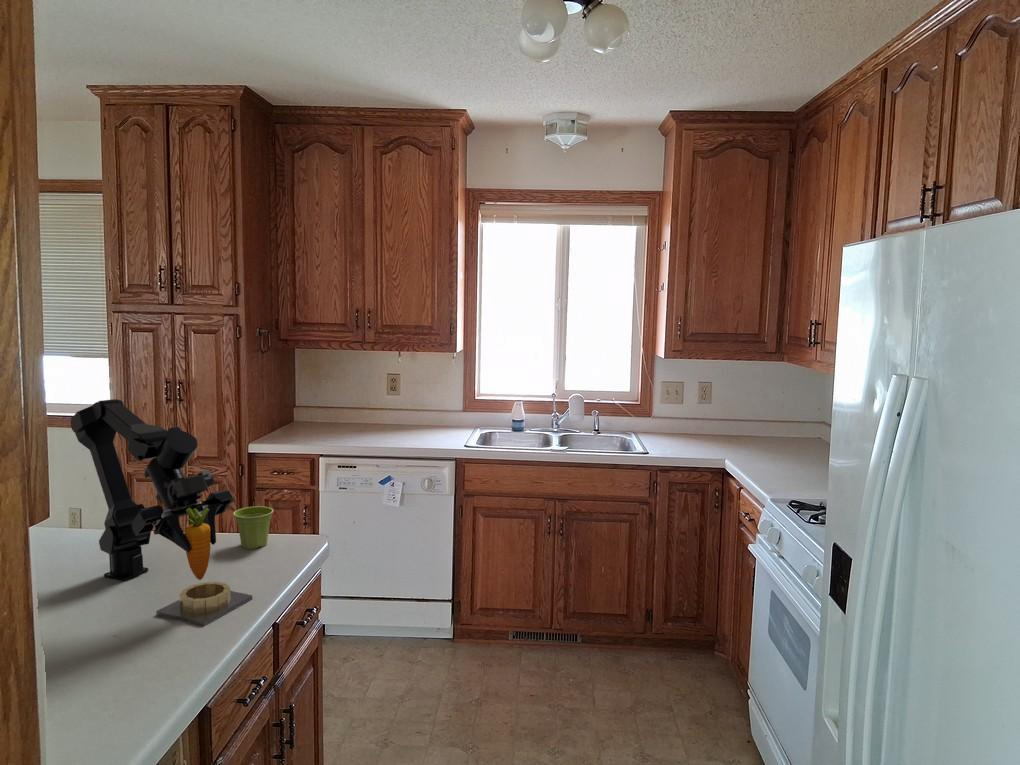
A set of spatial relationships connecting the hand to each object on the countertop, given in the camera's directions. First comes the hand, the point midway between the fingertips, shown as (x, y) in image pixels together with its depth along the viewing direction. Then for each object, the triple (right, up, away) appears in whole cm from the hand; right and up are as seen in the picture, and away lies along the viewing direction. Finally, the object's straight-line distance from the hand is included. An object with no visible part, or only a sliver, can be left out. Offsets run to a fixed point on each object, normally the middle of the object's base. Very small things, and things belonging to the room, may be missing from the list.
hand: (202, 547), depth 136 cm
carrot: (-1, -7, +2) cm, 7 cm away
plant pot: (-4, -9, +39) cm, 40 cm away
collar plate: (-1, -13, +3) cm, 13 cm away
